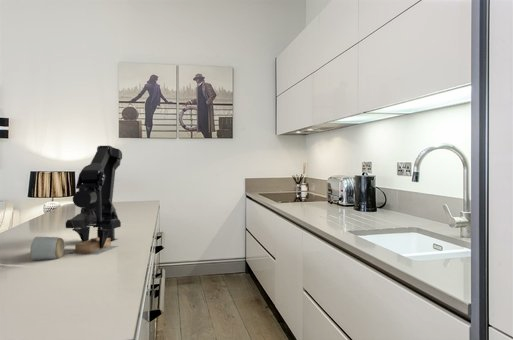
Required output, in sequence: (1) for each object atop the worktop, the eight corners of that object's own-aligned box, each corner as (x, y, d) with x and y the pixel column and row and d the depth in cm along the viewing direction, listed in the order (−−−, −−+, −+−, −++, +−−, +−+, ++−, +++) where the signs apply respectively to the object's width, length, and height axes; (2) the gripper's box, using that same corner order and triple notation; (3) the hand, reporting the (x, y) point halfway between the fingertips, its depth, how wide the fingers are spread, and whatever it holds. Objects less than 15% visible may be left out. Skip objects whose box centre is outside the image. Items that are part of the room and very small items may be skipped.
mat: (90, 246, 133) (90, 244, 133) (118, 247, 131) (118, 246, 131) (66, 254, 122) (66, 252, 122) (97, 256, 119) (97, 254, 119)
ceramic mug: (58, 261, 113) (57, 237, 113) (29, 263, 111) (29, 239, 111) (68, 254, 123) (68, 232, 123) (43, 255, 122) (42, 233, 122)
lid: (96, 245, 132) (96, 235, 132) (110, 246, 131) (110, 235, 131) (75, 252, 122) (75, 241, 121) (90, 253, 120) (90, 242, 120)
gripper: (52, 206, 120) (54, 252, 120) (100, 207, 116) (102, 254, 116) (76, 202, 131) (77, 244, 131) (121, 203, 127) (122, 246, 127)
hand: (93, 247), depth 126 cm, fingers closed on lid, 6 cm apart
